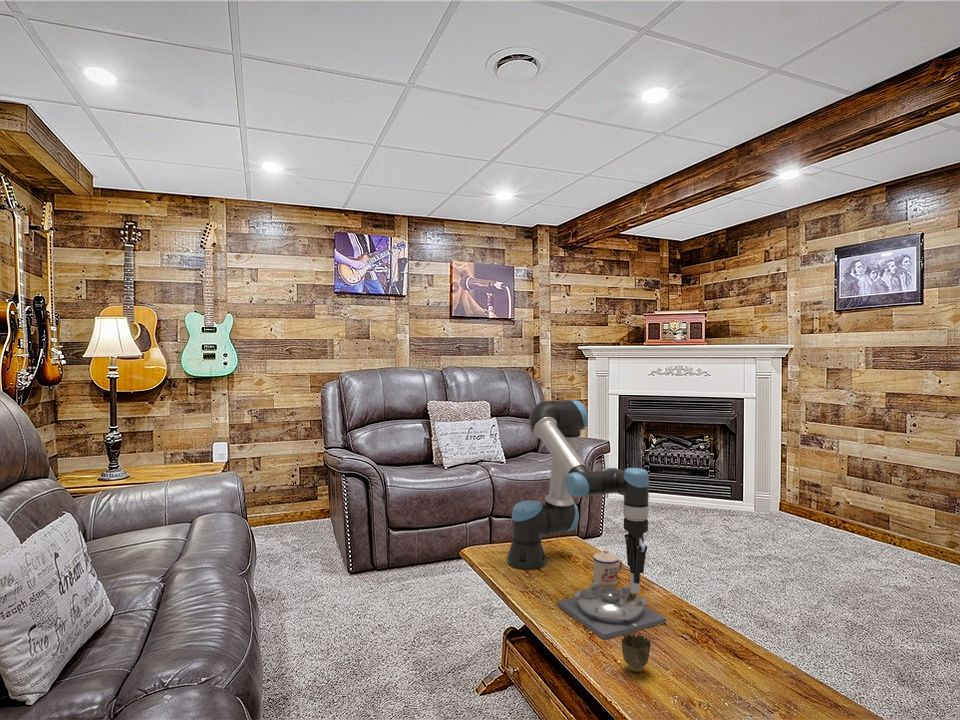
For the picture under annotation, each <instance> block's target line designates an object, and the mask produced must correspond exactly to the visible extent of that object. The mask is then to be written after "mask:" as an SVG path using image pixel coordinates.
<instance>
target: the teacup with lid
mask: <svg viewBox="0 0 960 720" xmlns="http://www.w3.org/2000/svg"><path fill="white" fill-rule="evenodd" d="M592 558H593V569H592V570H593V572H592V573H593V579H592V580H593V582H597V583H599V586H609V587H615V586H616V585H617V584H618V579H619V578H618V577H619V573H621V571H622V570H623V566H624V563H623V561H622V560H621V559H619V557H618V556H617V555H616V554H614V553H612V552H610V551H609V549H608V548H604V549H602V551H600V552H596V553H594V554H593V556H592Z"/></svg>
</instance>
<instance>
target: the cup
mask: <svg viewBox="0 0 960 720" xmlns="http://www.w3.org/2000/svg"><path fill="white" fill-rule="evenodd" d="M622 636H623V637H622V638H621V639H620V640H621V651H622V657H623V661H625V664H627V667H628V670H629V671H630V672H632V673H633V674H634V673H635V674H640V673H642V672H643V669H644V668H643V667H645V666H646V665H647V663H648V661H649V657H650V651H651V640H650V639H648V637H647V636H646V637H644V635H641V634H637V635H636V634H635V633H633V634H631V633H628V634H624V635H622Z"/></svg>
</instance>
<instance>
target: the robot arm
mask: <svg viewBox="0 0 960 720" xmlns="http://www.w3.org/2000/svg"><path fill="white" fill-rule="evenodd" d="M528 417H529V418H528V419H529V420H528V421H529V426H530V427H529V428H530V429H531V432H532V433H533V435H534V436H535V437H536V438H538V439H539V440H541V442H542V443H543V445H544V446H545V448H546V449H547V450H548V452H549V453H550V455H551V457H552V458H551V466H550V468H551V469H550V478H549V491H548V494H547V495H545V497H544V503H542V502H541V501H540V500H539V501H538V500H534V499H533V500H523V501H519V502H517V503H516V504H515V505H514V506H513V507H512V512H511V543H510V547H509V550H508V552H507V557H506V558H507V561H506V562H508V563H507V564H508V565H509V566H510V565H511V566H510V567H512V566H513V568H515V569H519V570H537V569H540V568H541V569H542V568H543V567H545V566H546V565H547V563H546V562H547V559H546V554H545V551H544V548H543V544H542V541H543V539H542V537H543V535H552V534H553V535H554V534H559V533H560V534H564V533H569V532H572V531H573V530H575V528H577V525H578V523H579V519H580V518H579V517H580V515H579V514H580V513H579V512H578V511H579V509H578V505H577V504H576V503H575V500H574V498H572V497H586V496H596V495H608V494H617V495H618V494H619V495H622V496H623V516H624V518H623V530H624V531H625V532H627V533H625V534H624V538H625V549H626V561H627V567H629V570H630V571H629V572H630V574H629V575H630V576H629V578H630V579H629V580H630V592H631V593H636V594H640V593H641V574H644V571H645V563H646V555H647V550H648V545H644V543H645V537H644V534H645V533H648V531H649V520H648V518H649V511H650V507H649V497H650V496H649V490H650V488H649V487H650V481H649V472H648V471H647V470H646V469H644V468H638V467H628V468H625V470H622V469H620V468H619V469H618V468H616V467H605V469H603V470H596V471H595V470H594V471H592V470H590V469H589V468H588V467H587V465H585V463H584V461H583V460H582V459H581V458H580V456H579V455H578V454H577V452H576V444H577V440H578V439H579V438H580V437H581V432H582V431H583V430H585V429H586V428H587V426H588V424H589V416H588V410H587V409H586V406H585V405H584V404H583V403H582V402H581V401H579V400H577V399H576V400H574V399H573V400H572V399H561V400H559V399H558V400H543V401H540V402H538V403H536V404H535V405H534V407H533V408H532V409H531V411H530V414H529V416H528Z"/></svg>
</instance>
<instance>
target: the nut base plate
mask: <svg viewBox="0 0 960 720" xmlns="http://www.w3.org/2000/svg"><path fill="white" fill-rule="evenodd" d="M556 606H557V607H558V608H560V609H561V610H562V611H563V612H565V613H567V614H568V615H569V616H571V617H572V618H573V619H575V621H577V622H579V623H580V624H581V625H583V627H586V628H587V629H588V630H590V631H591V632H592V633H594V634H595V635H596V636H597V637H599V638H601V639H602V640H604V641H605V640H609V639H612V638H617V637H619V636H624V635H627V634H628V633H629V634H631V633H634V631H635V632H638V630H639V631H641V629H643V630H646V629H650V628H653V627H652V626H654V627H656V626H655V625H657V626H659V625H658V624H661V623H665V622H666V623H667V618H666V616H664V615H661V614H660V613H658V612H656V611H655V610H653V609H652V608H649V607H648V606H647V605H643V615H642V617H641V618H640V619H639V620H637V621H634V622H631V623H625V624H612V623H605V622H600V621H597V620H594V619H591V618H589V617H587V616H586V615H584V614H583V613H582V612H581V611H580V610H579V608H578V597H575V596H574V597H572V598H567V599H562V600H558V601H556ZM666 623H665V624H666ZM661 625H662V624H661ZM649 627H650V628H649ZM645 628H646V629H645ZM630 632H631V633H630ZM623 634H624V635H623ZM616 636H617V637H616Z"/></svg>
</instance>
